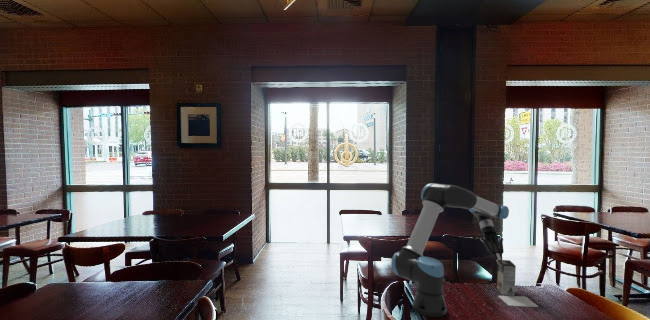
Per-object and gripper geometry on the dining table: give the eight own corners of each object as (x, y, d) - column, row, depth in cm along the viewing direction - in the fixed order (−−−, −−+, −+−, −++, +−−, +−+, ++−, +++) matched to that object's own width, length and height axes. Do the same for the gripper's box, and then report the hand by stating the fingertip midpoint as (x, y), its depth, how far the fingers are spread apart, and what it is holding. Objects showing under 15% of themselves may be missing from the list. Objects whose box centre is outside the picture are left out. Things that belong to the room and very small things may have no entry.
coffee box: (496, 288, 180) (497, 259, 180) (509, 289, 179) (510, 260, 179) (502, 295, 172) (502, 264, 171) (515, 296, 170) (516, 265, 170)
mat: (508, 306, 159) (508, 305, 159) (497, 296, 170) (497, 295, 170) (538, 307, 158) (538, 306, 158) (525, 297, 169) (525, 296, 169)
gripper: (496, 232, 200) (510, 268, 184) (474, 231, 201) (486, 268, 184) (501, 225, 195) (515, 262, 178) (478, 224, 195) (491, 261, 179)
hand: (500, 265), depth 181 cm, fingers closed
